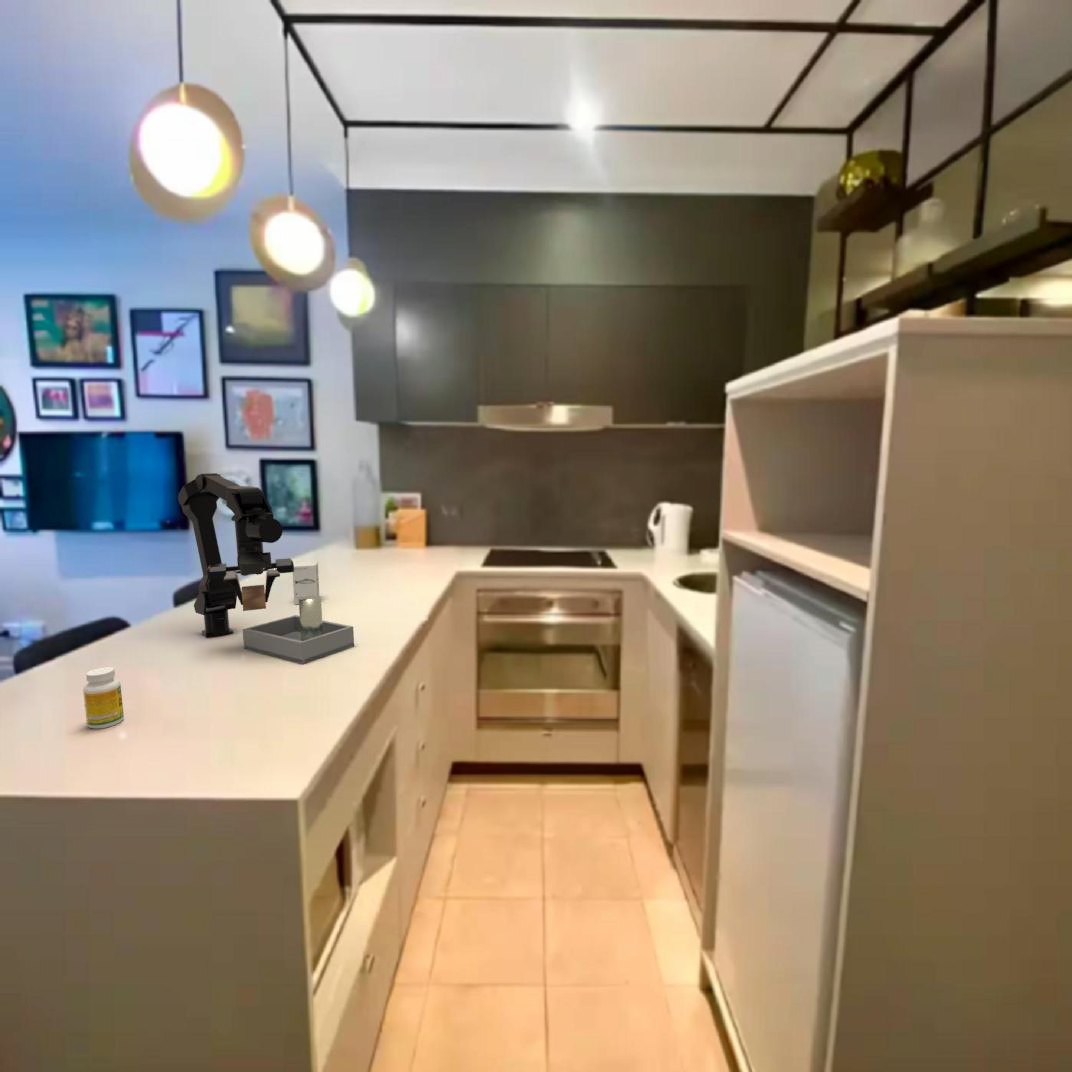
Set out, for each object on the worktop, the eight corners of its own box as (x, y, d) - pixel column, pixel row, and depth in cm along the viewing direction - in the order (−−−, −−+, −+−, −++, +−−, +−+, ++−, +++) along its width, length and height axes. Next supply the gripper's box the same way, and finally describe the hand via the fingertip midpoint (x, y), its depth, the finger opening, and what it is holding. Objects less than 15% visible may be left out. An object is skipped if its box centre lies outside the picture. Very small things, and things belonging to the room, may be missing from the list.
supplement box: (293, 605, 190) (291, 566, 188) (296, 600, 197) (293, 562, 196) (318, 603, 192) (316, 564, 190) (320, 598, 199) (318, 560, 197)
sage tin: (298, 650, 142) (295, 601, 141) (305, 643, 147) (302, 595, 146) (320, 649, 143) (317, 600, 141) (326, 643, 148) (323, 595, 146)
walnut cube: (243, 611, 144) (241, 590, 143) (243, 606, 148) (241, 586, 147) (266, 608, 146) (264, 588, 145) (265, 604, 150) (264, 584, 149)
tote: (244, 649, 147) (242, 629, 146) (296, 633, 160) (295, 615, 159) (302, 664, 136) (301, 643, 135) (354, 646, 148) (353, 626, 148)
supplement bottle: (84, 723, 107) (78, 671, 105) (120, 713, 110) (114, 663, 109) (91, 732, 103) (84, 678, 102) (127, 722, 107) (122, 670, 106)
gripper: (203, 547, 134) (209, 615, 136) (293, 541, 141) (297, 605, 143) (206, 541, 143) (211, 605, 145) (290, 535, 151) (294, 596, 153)
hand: (254, 603), depth 147 cm, fingers closed on walnut cube, 5 cm apart
